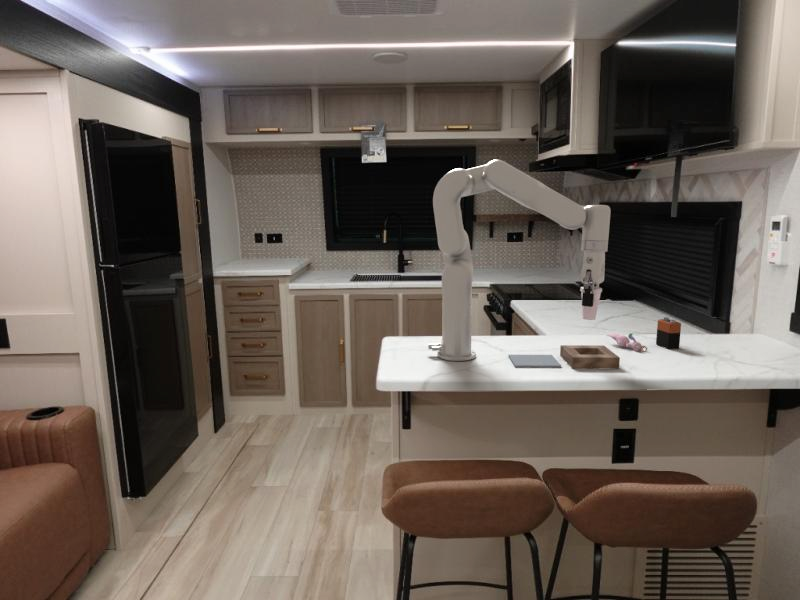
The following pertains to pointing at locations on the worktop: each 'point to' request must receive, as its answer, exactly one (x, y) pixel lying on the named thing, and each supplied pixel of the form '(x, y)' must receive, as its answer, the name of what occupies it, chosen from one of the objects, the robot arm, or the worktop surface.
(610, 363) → the walnut frame
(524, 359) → the slate mat
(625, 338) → the rabbit figure
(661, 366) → the worktop surface
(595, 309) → the smoothie
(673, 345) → the battery
